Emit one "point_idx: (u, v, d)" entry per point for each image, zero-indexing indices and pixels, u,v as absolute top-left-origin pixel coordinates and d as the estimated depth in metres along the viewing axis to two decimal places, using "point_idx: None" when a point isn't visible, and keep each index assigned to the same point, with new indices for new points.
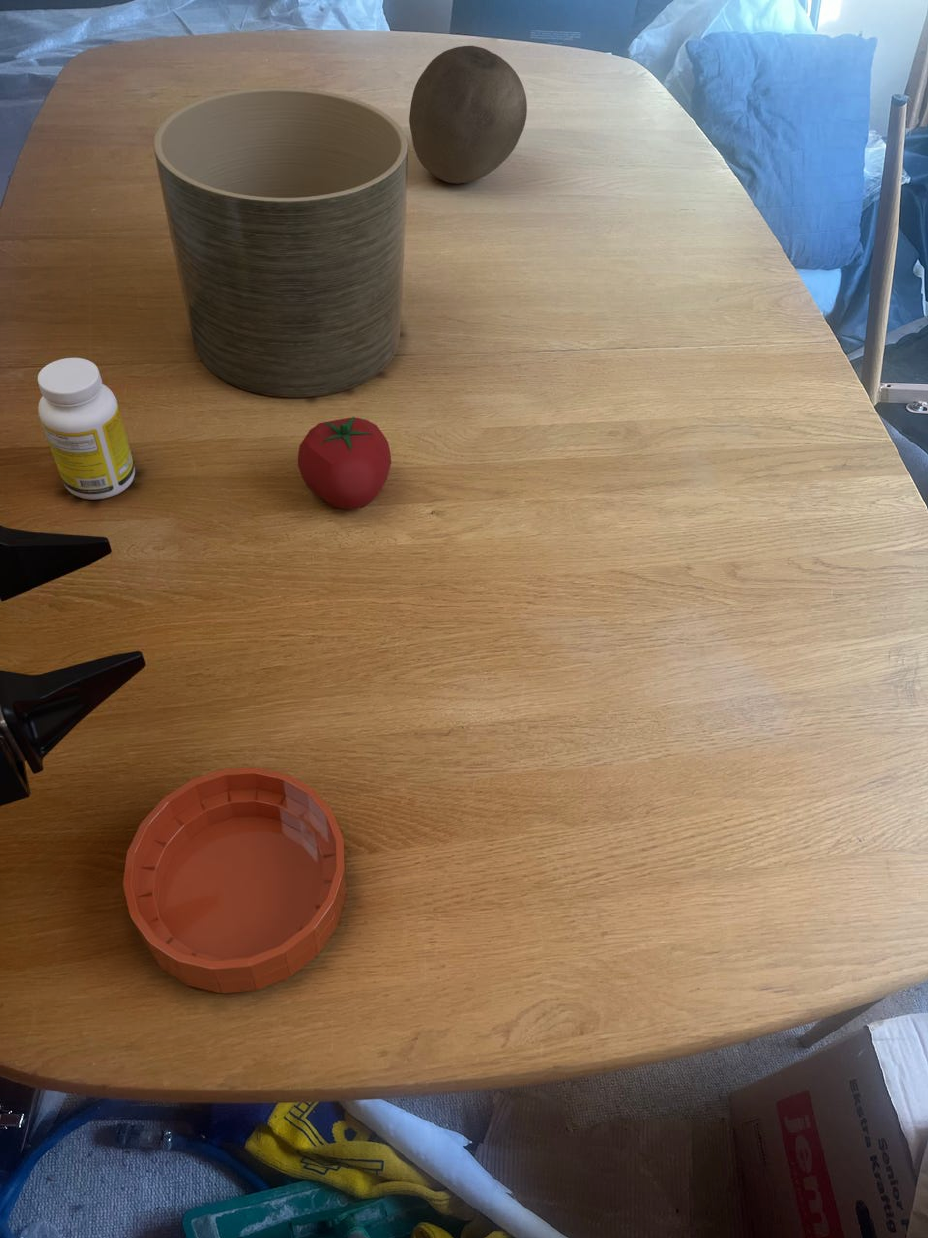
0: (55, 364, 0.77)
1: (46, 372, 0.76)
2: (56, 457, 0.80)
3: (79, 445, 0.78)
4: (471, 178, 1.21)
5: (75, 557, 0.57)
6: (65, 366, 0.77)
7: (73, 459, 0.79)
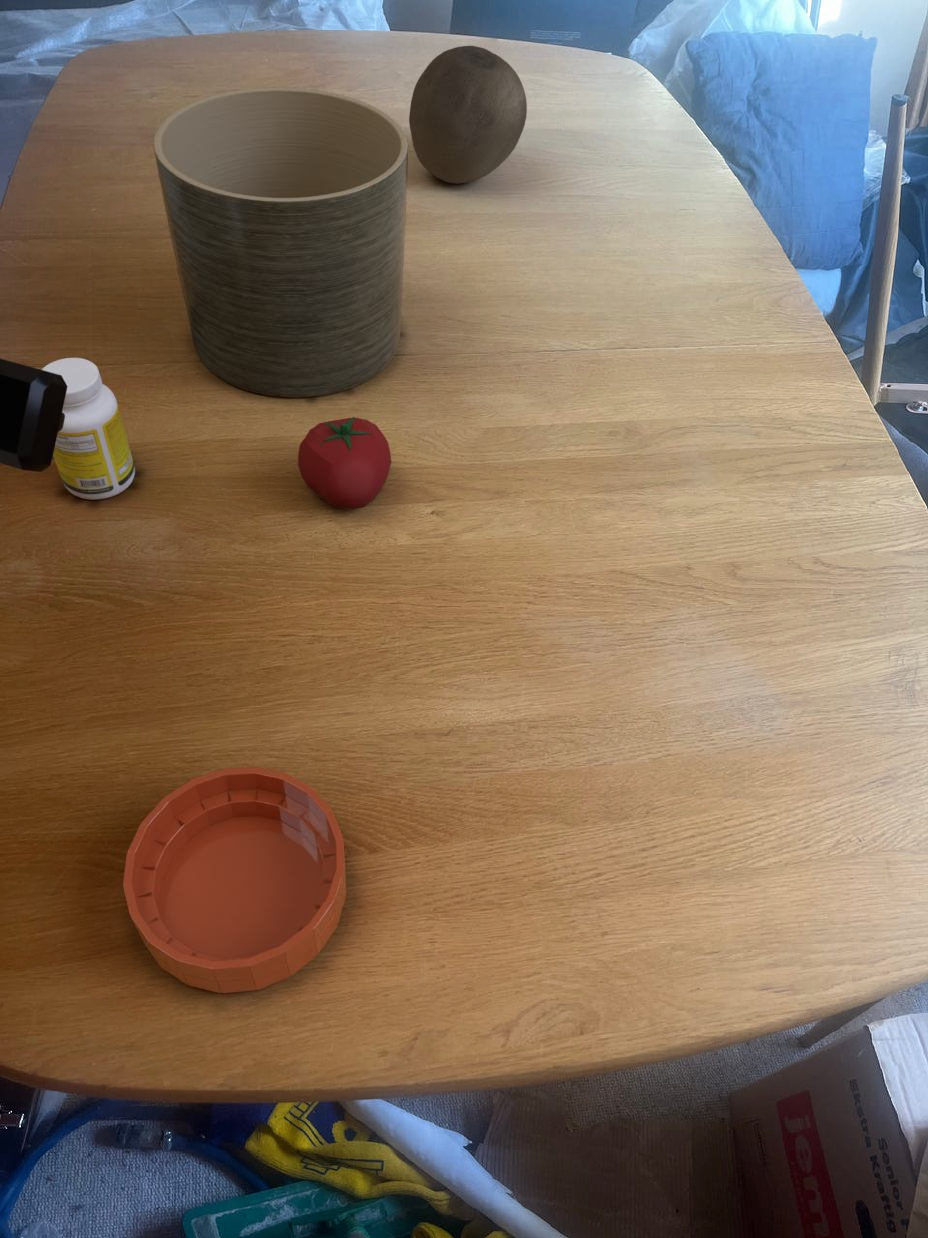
0: (55, 364, 0.77)
1: None
2: (56, 457, 0.80)
3: (79, 445, 0.78)
4: (471, 178, 1.21)
5: None
6: (65, 366, 0.77)
7: (73, 459, 0.79)
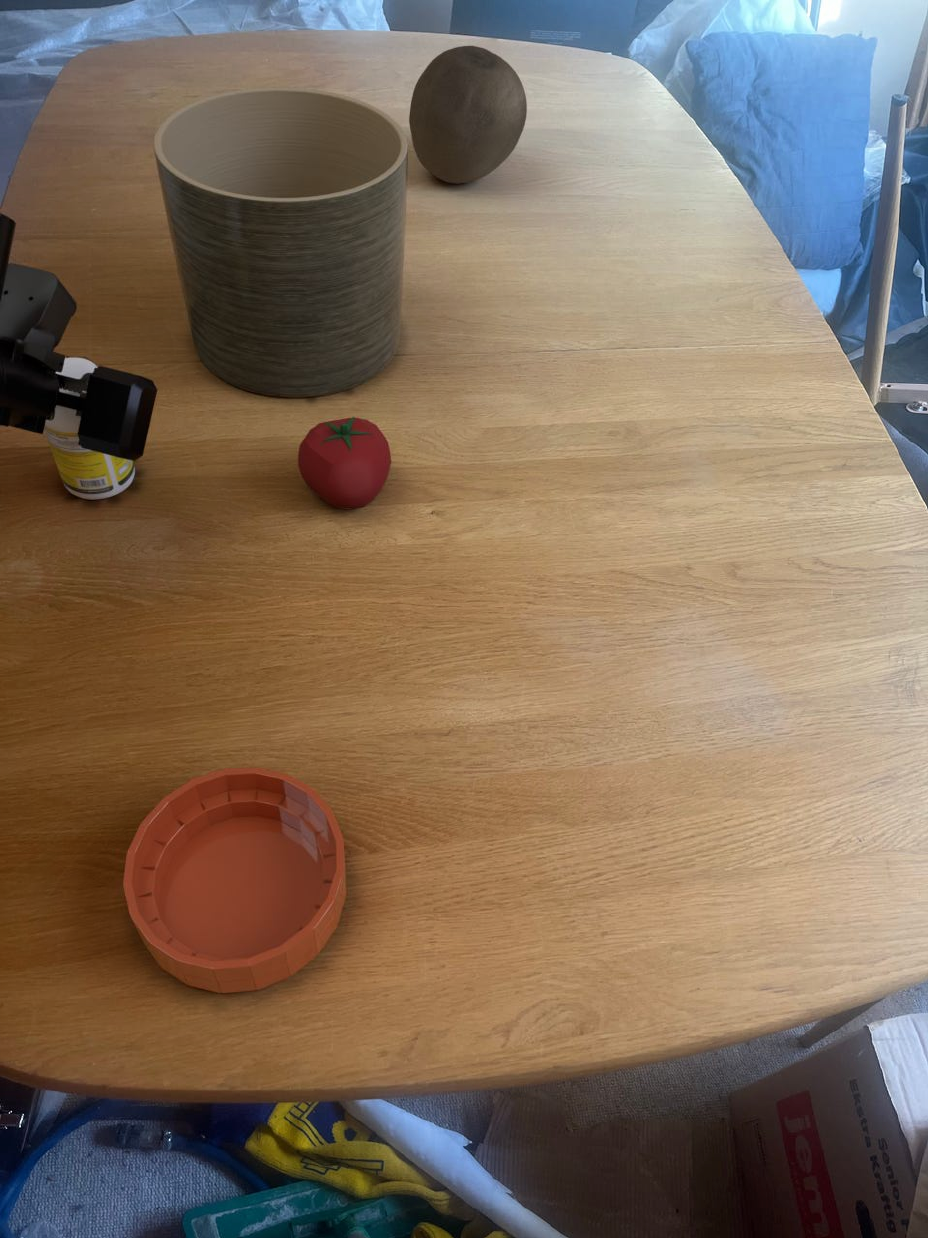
0: None
1: None
2: (56, 457, 0.80)
3: (79, 445, 0.78)
4: (471, 178, 1.21)
5: None
6: (65, 366, 0.77)
7: (73, 459, 0.79)
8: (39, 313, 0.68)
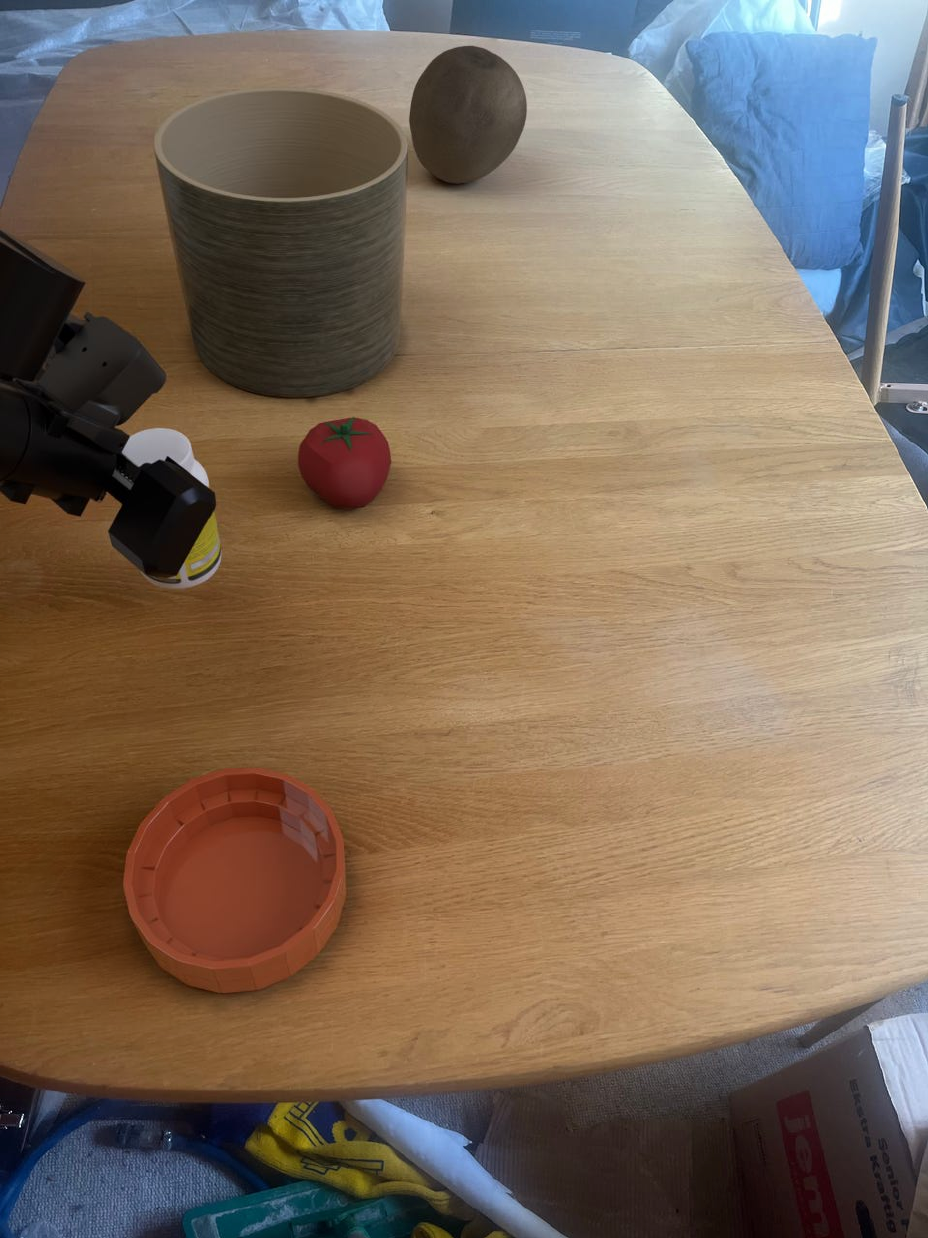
0: (150, 432, 0.66)
1: (135, 440, 0.65)
2: None
3: None
4: (471, 178, 1.21)
5: None
6: (159, 438, 0.65)
7: None
8: (104, 384, 0.56)
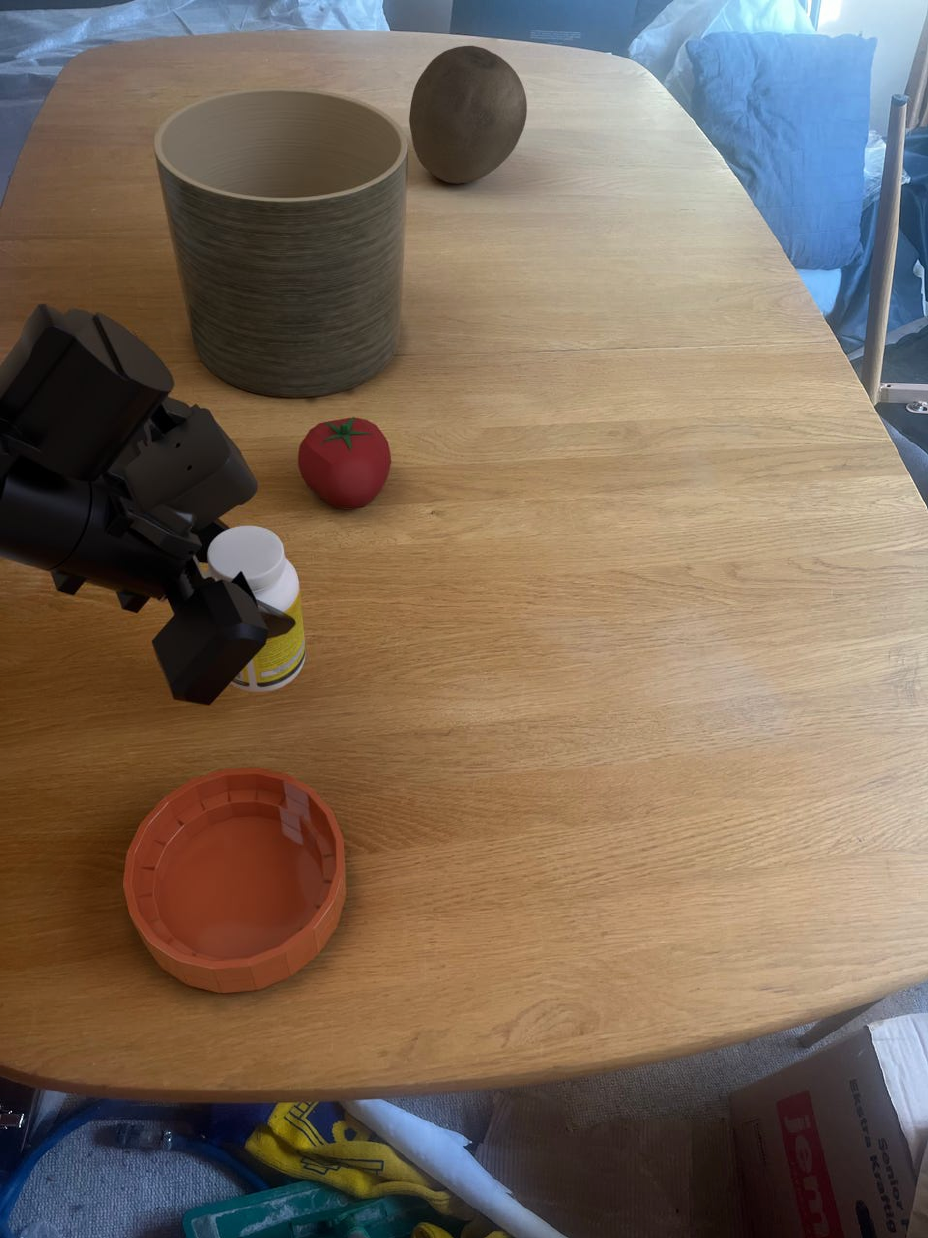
0: (248, 530, 0.60)
1: (230, 535, 0.60)
2: None
3: None
4: (471, 178, 1.21)
5: None
6: (254, 539, 0.60)
7: None
8: (180, 490, 0.51)
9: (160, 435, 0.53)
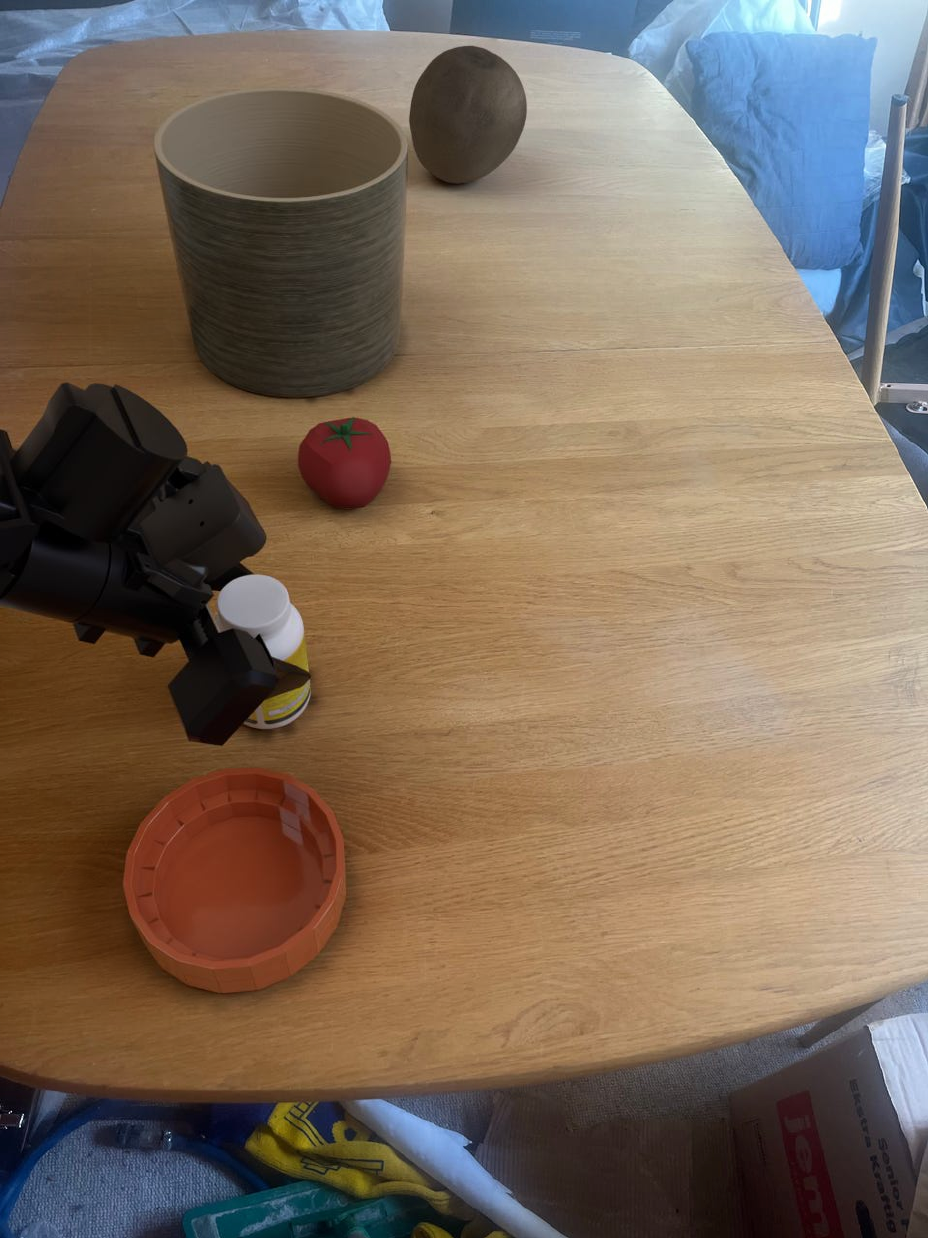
0: (255, 579, 0.64)
1: (238, 584, 0.63)
2: None
3: None
4: (471, 178, 1.21)
5: None
6: (261, 587, 0.63)
7: None
8: (193, 546, 0.54)
9: (174, 491, 0.56)
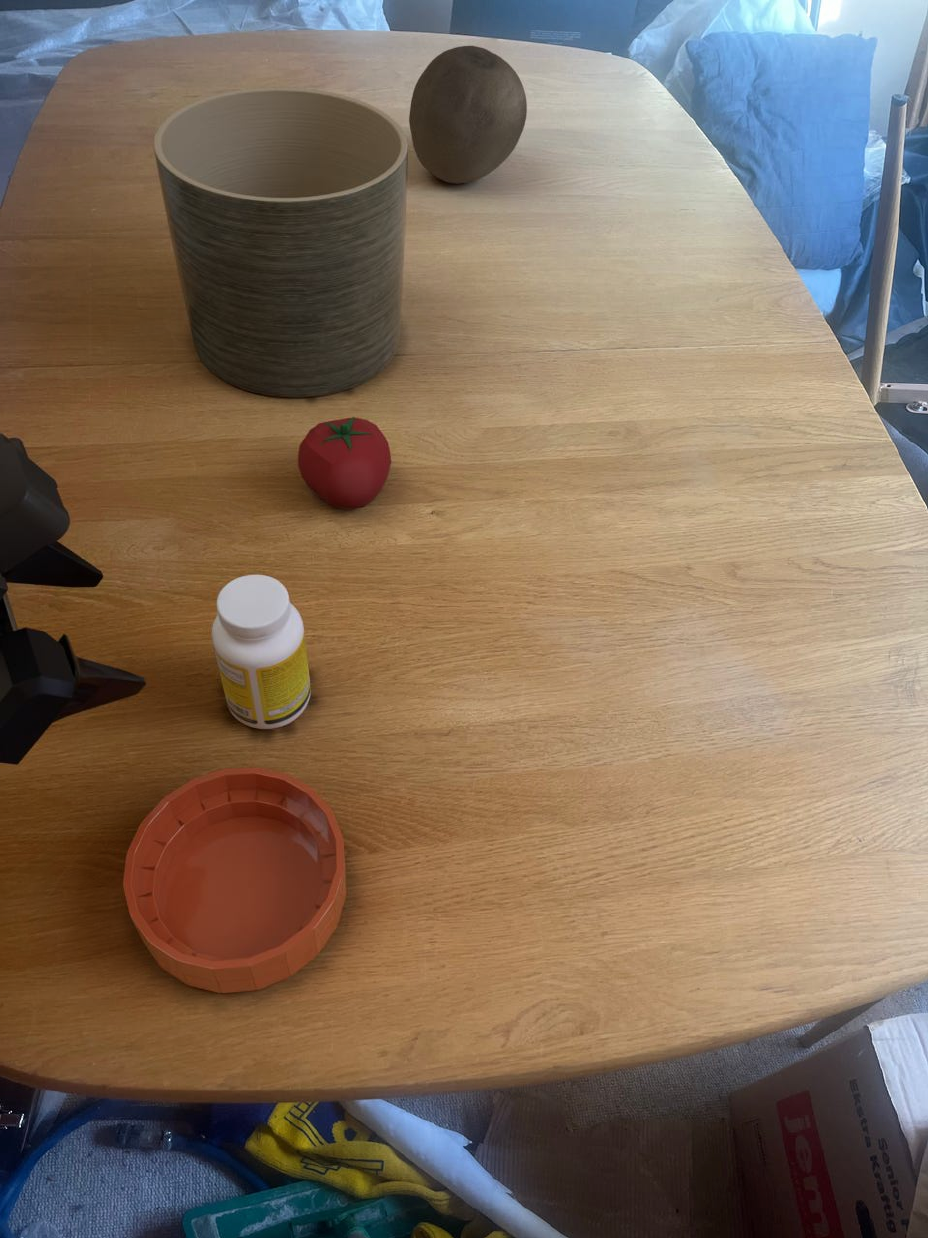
0: (255, 579, 0.64)
1: (238, 584, 0.63)
2: None
3: (227, 672, 0.65)
4: (471, 178, 1.21)
5: (68, 575, 0.59)
6: (261, 588, 0.63)
7: (223, 679, 0.66)
8: None
9: None
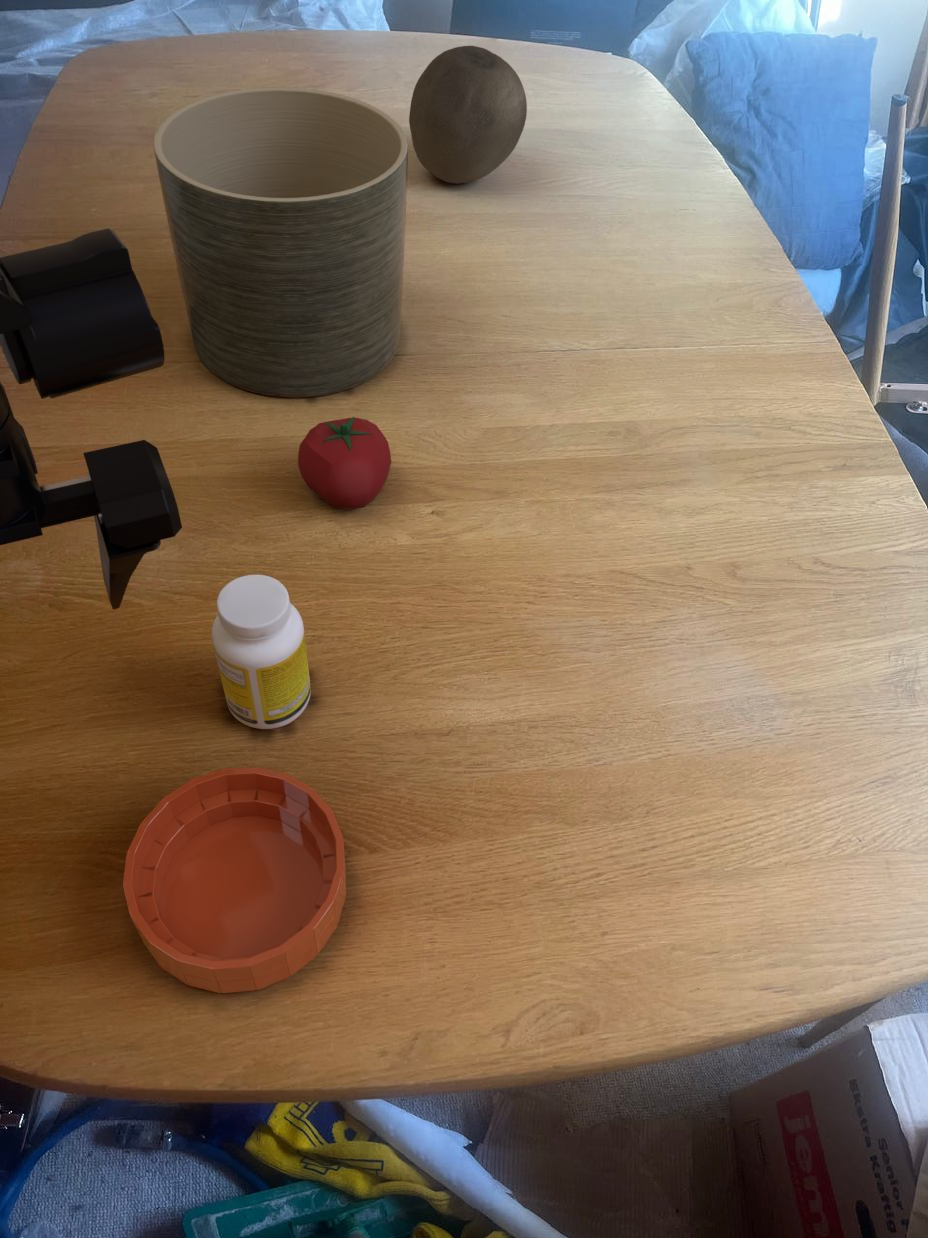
0: (255, 579, 0.64)
1: (238, 584, 0.63)
2: None
3: (227, 672, 0.65)
4: (471, 178, 1.21)
5: None
6: (261, 588, 0.63)
7: (223, 679, 0.66)
8: None
9: None
